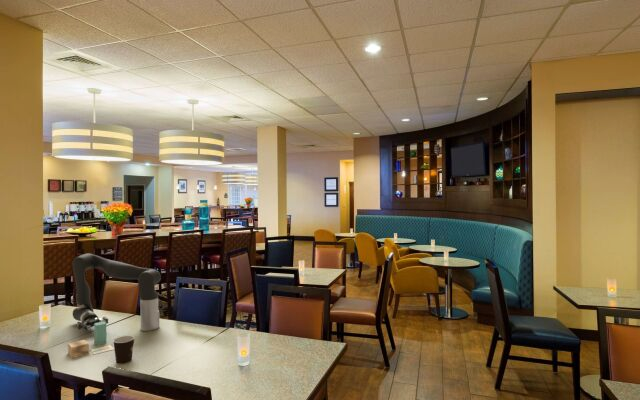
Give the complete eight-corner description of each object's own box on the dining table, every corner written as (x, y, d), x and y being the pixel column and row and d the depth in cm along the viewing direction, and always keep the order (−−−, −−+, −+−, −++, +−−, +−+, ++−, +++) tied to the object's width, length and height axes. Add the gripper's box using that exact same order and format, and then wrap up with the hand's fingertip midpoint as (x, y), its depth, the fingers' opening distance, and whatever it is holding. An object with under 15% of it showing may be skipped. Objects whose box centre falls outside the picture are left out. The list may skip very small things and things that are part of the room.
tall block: (104, 340, 198) (104, 321, 198) (106, 342, 195) (106, 323, 195) (94, 342, 195) (94, 323, 195) (96, 345, 192) (96, 325, 192)
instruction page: (110, 345, 192) (110, 344, 192) (114, 349, 187) (114, 348, 187) (90, 350, 186) (90, 349, 186) (93, 354, 180) (93, 354, 180)
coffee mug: (125, 365, 168) (125, 343, 168) (108, 364, 170) (108, 342, 170) (142, 355, 180) (142, 334, 180) (126, 353, 182) (126, 332, 181)
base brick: (85, 349, 187) (84, 339, 187) (88, 353, 182) (88, 343, 182) (68, 353, 182) (68, 343, 182) (71, 358, 177) (71, 347, 177)
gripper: (74, 315, 210) (80, 322, 198) (103, 309, 219) (110, 316, 207) (74, 328, 210) (80, 336, 198) (103, 322, 219) (110, 329, 207)
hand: (95, 326), depth 203 cm, fingers open, 8 cm apart
